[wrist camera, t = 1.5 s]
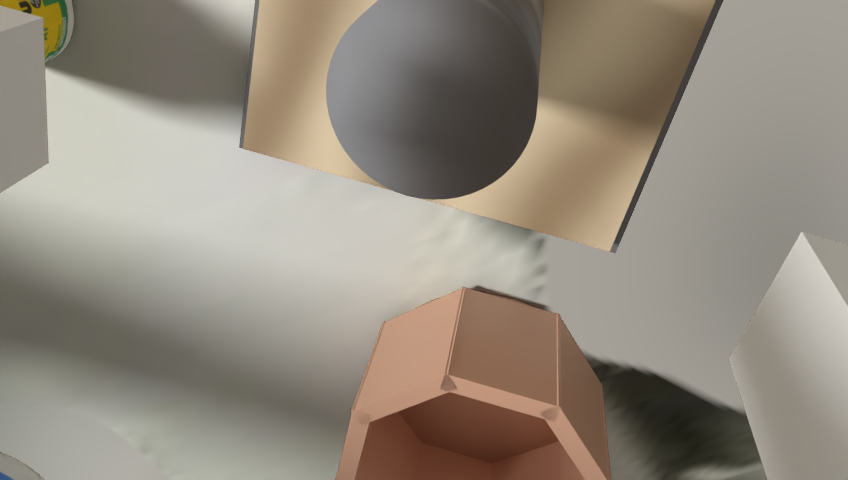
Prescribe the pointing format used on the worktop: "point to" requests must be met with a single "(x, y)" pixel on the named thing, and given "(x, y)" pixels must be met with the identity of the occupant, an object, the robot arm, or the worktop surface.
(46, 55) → the supplement bottle
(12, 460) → the supplement tub
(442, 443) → the terracotta bowl
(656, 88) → the oak lid
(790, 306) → the robot arm
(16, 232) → the worktop surface
